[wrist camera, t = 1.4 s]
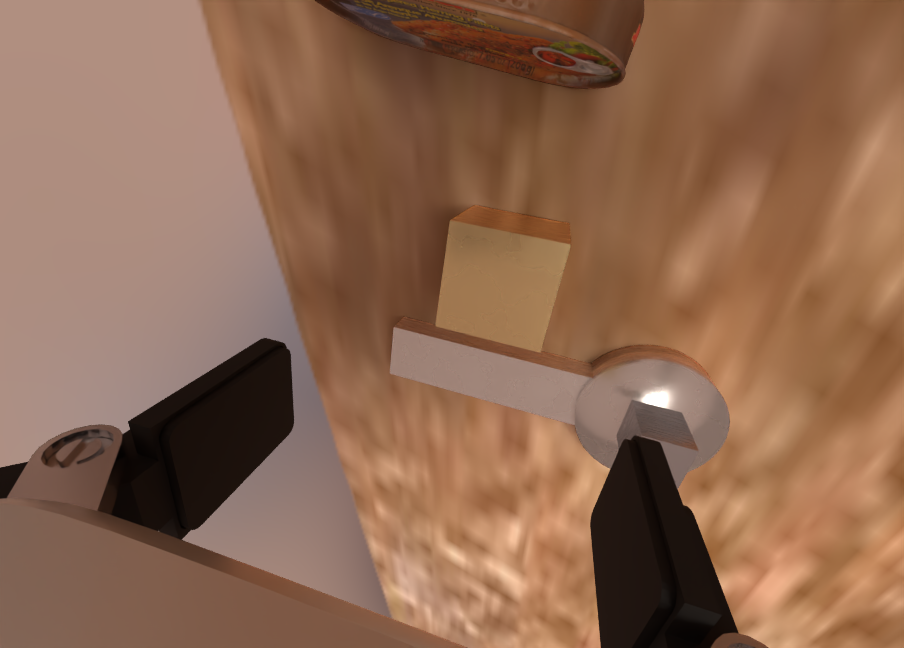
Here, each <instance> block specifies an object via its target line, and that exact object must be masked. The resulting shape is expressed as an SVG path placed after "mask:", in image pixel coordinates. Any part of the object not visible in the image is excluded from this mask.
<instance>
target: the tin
mask: <svg viewBox="0 0 904 648" xmlns="http://www.w3.org/2000/svg"><path fill="white" fill-rule="evenodd" d="M315 1H316V2H318V3H319V4H321V5H322V6H324V7H325V8H327V9H328V10H330V11H332V12H334V13H335V14H337V15H339V16H341V17H343V18H345V19H347V20H349V21H351V22H353V23H354V24H356V25H358V26H360V27H362V28H364V29H366V30H369V31H371V32H373V33H375V34H377V35H380V36H382V37H385V38H388V39H391V40H393V41H396V42H399V43H402V44H406V45H409V46H412V47H415V48H419V49H422V50H426V51H429V52H434V53H437V54H441V55H444V56H448V57H452V58H455V59H459V60H463V61H467V62H470V63H474V64H478V65H482V66H485V67H489V68H493V69H496V70H500V71H503V72H507V73H511V74H515V75H518V76H522V77H526V78H530V79H533V80H537V81H541V82H545V83H550V84H555V85H561V86H567V87H574V88H585V89H588V88H593V89H596V88H606V87H611V86H614V85H617V84H619V83H620V82H622V80H623V79H624V77H625V68H626V65H627V62H628V60H629V57H630V54H631V52H632V49H633V47H634V44H635V42H636V39H637V37H638V34H639V32H640V29H641V25H642V22H643V18H644V0H315Z"/></svg>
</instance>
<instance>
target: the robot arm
mask: <svg viewBox="0 0 904 648" xmlns="http://www.w3.org/2000/svg"><path fill="white" fill-rule="evenodd" d="M292 393H293V391H292V372H291V354H290V351H289V350H288V349H287V347H286V345H285V344H284V343H282V342H279V341H275V340H271V339H267V338H264V339H260V340H259V341H257V342H256V343H254V344H252V345H251V346H249V347H248V348H246V349H244V350H243V351H241V352H239V353H238V354H236V355H235V356H233V357H231V358H230V359H228V360H227V361H225V362H223V363H222V364H220V365H218V366H217V367H215V368H214V369H212V370H210V371H209V372H207V373H206V374H204V375H202V376H201V377H199V378H197V379H196V380H194V381H193V382H191V383H189V384H188V385H186V386H185V387H183V388H181V389H180V390H178V391H177V392H175V393H173V394H172V395H170V396H169V397H167V398H165V399H164V400H162V401H160V402H159V403H157V404H155V405H154V406H152V407H151V408H149V409H147V410H146V411H144V412H143V413H141V414H139V415H138V416H136V417H135V418H133V419H131V420H130V421H128V423H129V427H130V430H129V431H127V432H126V433H124V434H122V432H121V431H120V430H119V429H118V428H116V427H114V426H111V425H89V426H84V427H80V428H76V429H73V430H70V431H67V432H64V433H62V434H60V435H58V436H56V437H54V438H52V439H50V440H48V441H47V442H46V443H44V444H43V445H42V446H40V447H39V448H38V449H37V450H36V451H35V453H34V454H33V455H32V456H31V458H30V460H29V461H28V462H25V463H20V464H15V465H10V466H6V467H1V468H0V648H467V647H464V646H462V645H459V644H456V643H454V642H451V641H449V640H446V639H443V638H441V637H438V636H436V635H433V634H430V633H428V632H425V631H423V630H420V629H417V628H415V627H412V626H409V625H407V624H404V623H402V622H399V621H396V620H394V619H391V618H389V617H386V616H383V615H380V614H378V613H375V612H372V611H370V610H367V609H365V608H362V607H360V606H357V605H354V604H351V603H349V602H346V601H344V600H341V599H338V598H335V597H333V596H330V595H328V594H325V593H322V592H320V591H317V590H314V589H312V588H309V587H306V586H304V585H301V584H298V583H296V582H293V581H290V580H288V579H285V578H283V577H280V576H277V575H274V574H272V573H269V572H267V571H264V570H261V569H259V568H256V567H253V566H250V565H248V564H245V563H242V562H240V561H236V560H234V559H232V558H229V557H226V556H223V555H221V554H218V553H215V552H213V551H210V550H207V549H205V548H202V547H199V546H196V545H193V544H191V543H188V542H185V541H183V540H182V539H183V538H184V537H185V536H186V535H187V534H188V532H189V531H190V530H195V529H197V528H198V527H200V526H201V525H202V524H203V523H204V522H205V521H206V520H207V519H208V518H209V517H210V516H211V515H212V514H213V513H214V511H215V510H217V509H218V507H219V506H220V505H221V504H222V503H223V502H224V501H225V500H226V499H227V498H228V497H229V496H230V495H231V494H232V493H233V492H234V491H235V490H236V489H237V488H238V487H239V486H240V484H242V483H243V481H244V480H245V479H246V478H247V477H248V476H249V475H250V474H251V473H252V472H253V471H254V470H255V469H256V468H257V467H258V466H259V465H260V464H261V463H262V462H263V461H264V460H265V459H266V458H267V457H268V456H269V455H270V454H271V452H272V451H273V450H274V449H275V448H276V447H277V446H278V445H279V444H280V443H281V442H282V441H283V440H284V439H285V438H286V437H287V436H288V435H289V433H290V432H291V430H292V428H293V424H294V411H293V394H292ZM590 527H591V539H592V550H593V562H594V573H595V585H596V596H597V608H598V619H599V631H600V642H601V648H768V647H767V646H765V645H764V644H762V643H761V642H759V641H757V640H755V639H753V638H751V637H749V636H746V635H742V634H739V633H738V630H737V628H736V625H735V622H734V620H733V617H732V614H731V612H730V609H729V607H728V604H727V601H726V599H725V596H724V593H723V591H722V588H721V585H720V583H719V580H718V577H717V575H716V572H715V569H714V567H713V564H712V562H711V559H710V556H709V554H708V551H707V548H706V546H705V543H704V540H703V538H702V535H701V532H700V530H699V527H698V524H697V522H696V519H695V517H694V515H693V513H692V511H691V509H690V508H688V507H687V506H684V505H683V504H682V501H681V498H680V495H679V492H678V490H677V487H676V484H675V481H674V478H673V476H672V473H671V470H670V467H669V464H668V462H667V459H666V456H665V453H664V450H663V448H662V445H661V443H660V442H658V441H655V440H651V439H648V438H644V437H640V436H636V435H635V436H633V437H632V438H631V440H628V439H624V440H623V442H622V444H621V446H620V448H619V451H618V453H617V455H616V458H615V460H614V462H613V465H612V467H611V469H610V472H609V474H608V477H607V479H606V481H605V484H604V486H603V488H602V491H601V493H600V495H599V498H598V500H597V502H596V505H595V507H594V509H593V512H592V516H591V523H590ZM158 531H159V532H158Z"/></svg>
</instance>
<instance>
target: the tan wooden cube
mask: <svg viewBox="0 0 904 648" xmlns="http://www.w3.org/2000/svg"><path fill="white" fill-rule="evenodd" d="M570 247H571V237H570V223H566V222H560V221H555V220H550V219H545V218H539V217H534V216H529V215H524V214H519V213H513V212H508V211H503V210H498V209H493V208H487V207H482V206H477V205H474V206H472V207H470V208H469V209H467V210H466V211H464V212H462V213H461V214H459V215H458V216H456V217H454V218H453V219H451V220H450V223H449V230H448V237H447V245H446V252H445V259H444V266H443V273H442V281H441V288H440V295H439V302H438V310H437V317H436V324H435V326H436V327H440V328H444V329H448V330H452V331H456V332H460V333H464V334H468V335H472V336H476V337H480V338H484V339H488V340H491V341H495V342H499V343H503V344H507V345H511V346H515V347H519V348H523V349H527V350H531V351H535V352H539V353H540V352H541V348H542V345H543V341H544V338H545V334H546V331H547V327H548V324H549V320H550V317H551V313H552V310H553V306H554V303H555V299H556V296H557V292H558V289H559V285H560V282H561V278H562V275H563V271H564V268H565V264H566V261H567V257H568V254H569V250H570Z"/></svg>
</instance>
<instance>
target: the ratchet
mask: <svg viewBox="0 0 904 648" xmlns="http://www.w3.org/2000/svg"><path fill="white" fill-rule="evenodd" d="M390 374H393V375H397V376H400V377H404V378H407V379H411V380H415V381H418V382H422V383H425V384H429V385H432V386H436V387H440V388H443V389H447V390H450V391H454V392H457V393H461V394H465V395H468V396H472V397H475V398H479V399H482V400H486V401H490V402H493V403H497V404H500V405H504V406H507V407H511V408H515V409H518V410H522V411H525V412H529V413H532V414H536V415H540V416H543V417H547V418H550V419H554V420H557V421H561V422H565V423H568V424H572V425H575V428H576V432H577V435H578V438H579V440H580V442H581V443H582V445H583V447H584V448H585V449H586V451H587V452H588V453H589V454H590V455H591V456H592V457H593V458H594V459H596V460H597V461H598V462H600V463H601V464H603V465H604V466H606V467H608V468H610V469H611V467H612V465H613V462H614V460H615V458H616V455H617V453H618V451H619V448H620V446H621V444H622V442H623V440H624V439H628V440H631V438H632V437H633V436H635V435H636V436H640V437H644V438H648V439H651V440H655V441H658V442H660V443H661V445H662V448H663V450H664V453H665V456H666V459H667V462H668V464H669V467H670V470H671V473H672V476H673V478H674V481H675V484H676V487H677V489H678V488H679V486H680V484H681V482H682V481H683V479H684V477H685V475H686V474H687V472H689V471H691V470H694V469H696V468H698V467H699V466H701V465H703V464H704V463H706V462H707V461H708V460H710V459H711V458H712V457H713V456H714V455H715V454H716V453H717V452H718V451H719V449H720V448H721V447H722V445H723V444H724V442H725V440H726V438H727V434H728V431H729V424H730V419H729V412H728V408H727V405H726V403H725V401H724V399H723V397H722V395H721V394H720V392H719V391H718V389H717V388H716V386H715V384H714V383H713V381H712V380H711V378H710V377H709V375H708V374H707V372H706V371H705V370H704V369H703V368H702V366H701V365H700V364H699V363H697V362H696V361H695V360H693V359H692V358H691V357H689V356H687V355H685V354H684V353H681V352H679V351H677V350H674V349H671V348H667V347H663V346H657V345H634V346H627V347H623V348H619V349H616V350H614V351H611V352H609V353H607V354H605V355H603V356H601V357H599V358H598V359H597V360H595V361H594V362H593V363H592V364H591V363H587V362H583V361H579V360H575V359H571V358H567V357H563V356H559V355H555V354H551V353H547V352H543V351H541V352H540V353H539V352H535V351H531V350H527V349H523V348H519V347H515V346H511V345H507V344H503V343H499V342H495V341H491V340H488V339H484V338H480V337H476V336H472V335H468V334H464V333H460V332H456V331H452V330H448V329H444V328H440V327H436V326H435V324H432V323H428V322H424V321H420V320H416V319H412V318H408V317H403V318H402V319H401V320H400V321H399V322H398V323H397V324H396V325H395V326H394V329H393V341H392V353H391V364H390Z"/></svg>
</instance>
